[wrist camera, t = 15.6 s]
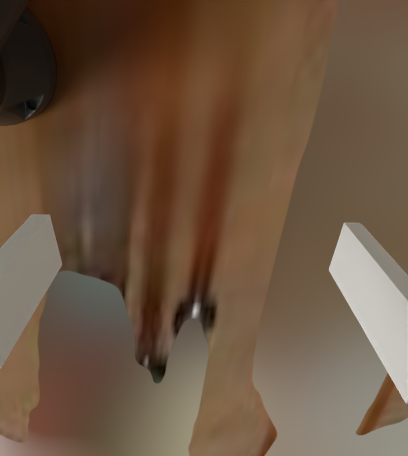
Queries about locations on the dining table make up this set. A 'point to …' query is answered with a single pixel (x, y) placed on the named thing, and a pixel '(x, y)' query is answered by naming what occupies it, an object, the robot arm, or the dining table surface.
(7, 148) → the dining table surface
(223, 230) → the dining table surface
